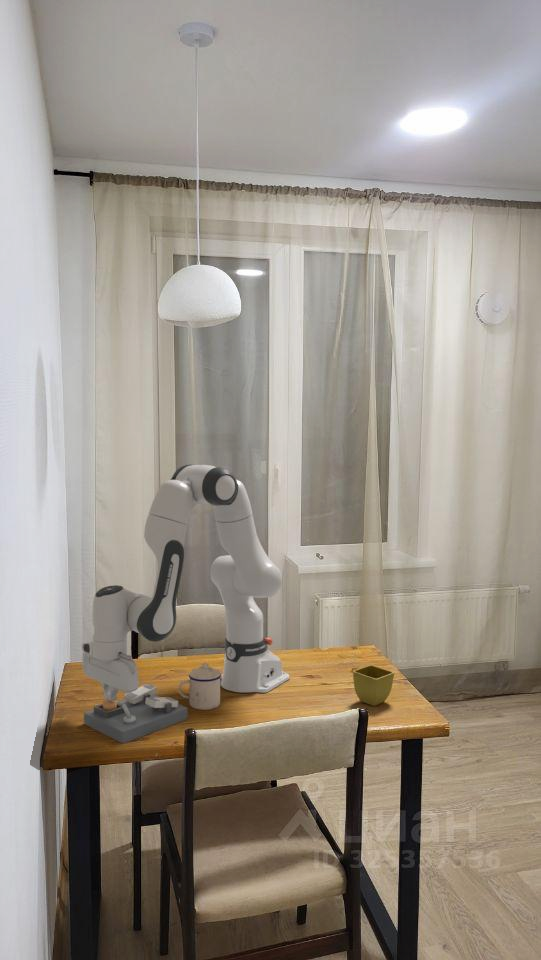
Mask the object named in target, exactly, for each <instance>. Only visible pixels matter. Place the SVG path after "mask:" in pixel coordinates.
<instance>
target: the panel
mask: <svg viewBox="0 0 541 960" xmlns="http://www.w3.org/2000/svg"><path fill="white" fill-rule="evenodd" d="M148 697H153V698H154V697H160V696H159V695H156V694H153V695H151V696H150V694H146V695H144V699H143V700H142V701H140V702H138V703H136V704H132V703H130V702H127V701H125V698H124V699H122V700H119V701H118V700H117V708H116V709H113V710H110V711H106V710H104V709H103V703H102V704H97V705H95V706H93V709H92V710H88V711H85V712H83V724H84V725H86V726H87V727H89V728H90V729H91V728H92V729H93V730H95V731H97V732H100V734H103V735H105V736H108V738H111V739H113V740H115V741H117V742H119V743H121V744H125V743H128V742H130V741H131V742H132V741H134V740H136V739H139V738H141V737H144V736H146V735H149V734H152V733H155V732H157V731H160V730H162V729H165V728H167V727H171V726H172V725H175V724H178V723H180V722H184V721H186V720H188V707H186V706H184V705H181V704H179V703H178V706H177V707H172V703H167V704H165V708H154V707H151V706H149V705H147V704H145V701H146V698H148Z"/></svg>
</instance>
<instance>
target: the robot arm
mask: <svg viewBox="0 0 541 960" xmlns="http://www.w3.org/2000/svg"><path fill="white" fill-rule="evenodd" d="M196 505H210V506H211V505H212V508H213V514H214V519H215V524H216V529H217V533H218V539H219V544H220V545H221V547H222V548H223V549H224V550H225V551H226V552H227V553H228V555H227V554H226V555H220V556H218V557H216V559H214V560H213V562H212V564H211V566H210V570H209V576H210V579H211V581H212V583H213V584H214V586H215V587H216V588H217V590H218V591H219V594H220V596H221V598H222V602H223V605H224V606H223V607H224V611H225V617H226V618H225V619H226V620H225V621H226V622H225V623H226V626H225V627H226V638H225V641H224V651H225V653H224V661H223V671H222V673H221V677H220V687H222V688H223V689H224V690H227V691H228V692H229V691H230V692H234V693H264V694H266V693H269V692H270V691H272V690H273V689H275V688H276V687H278V686H280V685H282V684H283V683H285V682H287V681H288V680H290V679H291V676H290V675H289V674H288V672H285V671H283V664H282V661H281V659H280V658H279V657H278V656H277V655H275V654H274V653H272V651H270V650H269V649H268V647H267V645H268V646H272V644H273V642H274V641H273V638H269V637H264V614H263V611H262V610H261V609H260V607H259V606H258V605H257V603H256V601H255V600H254V598H255V599H258V598H259V599H267V598H270V599H271V598H273V597H275V596H277V594H278V593H279V591H280V590H281V587H282V584H283V574H282V572H281V570H280V569H279V567H278V566H277V565H275V564H274V562H273V561H271V559H270V558H269V556H268V555H267V553H266V551H265V549H264V548H263V546H262V544H261V541H260V539H259V537H258V534H257V533H258V532H257V529H256V524H255V519H254V515H253V510H252V504H251V502H250V498H249V496H248V492H247V489H246V487H245V485H244V484H243V482H242V481H240V480H239V479H236V476H235V475H234V474H233V473H232V472H231V471H230V470H228V469H227V468H224V467H220V466H214V465H209V464H185V465H182V466H180V467H179V468H177V469H176V470H175V471H174V473H173V474H172V476H171V478H170V479H168V480H165V481H164V482H162V483H161V484H160V486H159V488H158V489H157V492H156V494H155V495H154V498H153V501H152V503H151V505H150V508H149V511H148V515H147V518H146V520H145V524H144V531H143V534H144V535H143V538H144V539H145V542H146V544H147V546H148V547H149V548H150V550H151V551H152V553H153V554H154V556H155V558H156V561H157V573H156V578H155V582H154V583H155V584H154V587H153V588H154V589H153V593H152V596H151V597H150V596H148V595H145V594H142V593H136V592H132V591H131V590H128V589H126V588H125V587H124V586H122V585H115V584H114V585H109V586H108V585H107V586H104V587H101V588H100V589H99V590H98V591H96V592H95V595H94V596H93V602H92V615H91V616H92V621H91V622H92V625H93V634H92V640H89V641H85V642H82V644H81V650H82V672H83V675H84V676H86V677H88V678H90V679H93V680H95V681H97V682H100V683H101V688H102V691H103V693H104V695H103V697H104V700H109V701H111V702H113V701H116V700H117V698H118V697H117V694H118V692H119V691H121V692H123V693H125V694H127V693H130V692H133V691H136V690H137V689H138V688H139V687H140V683H139V673H138V671H139V670H138V666H137V664H136V662H135V660H134V659H133V656H131V655H129V654H128V633H129V632H133V631H134V632H135V633H138V634H139V635H141V637H143V638H145V639H146V640H148V641H149V642H154V643H155V642H160V641H163V640H165V639H167V638H168V637H169V636H170V635H171V633H172V632H173V630H174V629H175V627H176V624H177V599H178V594H179V588H180V581H181V578H182V572H183V567H184V560H185V559H184V558H185V550H184V549H185V548H184V546H185V545H184V544H185V536H186V532H187V528H188V524H189V522H190V521H189V520H190V517H191V512H192V511H193V508H194V507H195V506H196Z"/></svg>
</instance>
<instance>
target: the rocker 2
mask: <svg viewBox="0 0 541 960" xmlns="http://www.w3.org/2000/svg"><path fill="white" fill-rule="evenodd" d="M167 703H172V707H177V706H178V704H179V700H178V699H174V698H172V697H169V696H165V697H164V696H163V697H161V696H159V697H154V698H153V697H148V698H146V701H145V704H147V705H149V706H151V707H154V708H165V704H167Z"/></svg>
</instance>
